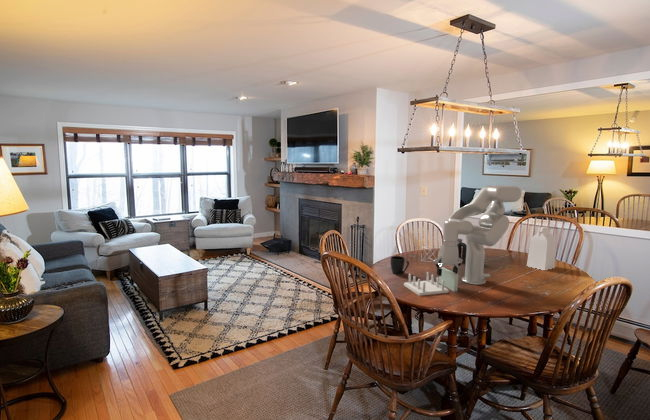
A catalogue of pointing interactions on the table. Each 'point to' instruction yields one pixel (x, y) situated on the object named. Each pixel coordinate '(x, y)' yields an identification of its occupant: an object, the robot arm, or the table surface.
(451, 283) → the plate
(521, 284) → the table surface
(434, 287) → the dish rack
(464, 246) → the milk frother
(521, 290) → the table surface
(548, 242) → the milk
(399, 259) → the mug
